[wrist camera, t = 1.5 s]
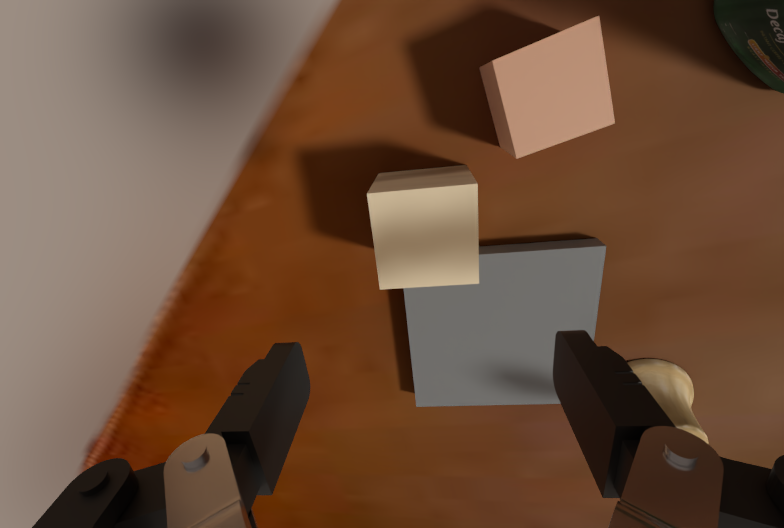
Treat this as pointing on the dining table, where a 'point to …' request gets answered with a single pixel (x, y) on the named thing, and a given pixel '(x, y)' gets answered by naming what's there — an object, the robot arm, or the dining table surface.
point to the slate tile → (503, 324)
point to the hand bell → (670, 392)
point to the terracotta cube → (550, 90)
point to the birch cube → (425, 227)
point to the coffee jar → (755, 36)
